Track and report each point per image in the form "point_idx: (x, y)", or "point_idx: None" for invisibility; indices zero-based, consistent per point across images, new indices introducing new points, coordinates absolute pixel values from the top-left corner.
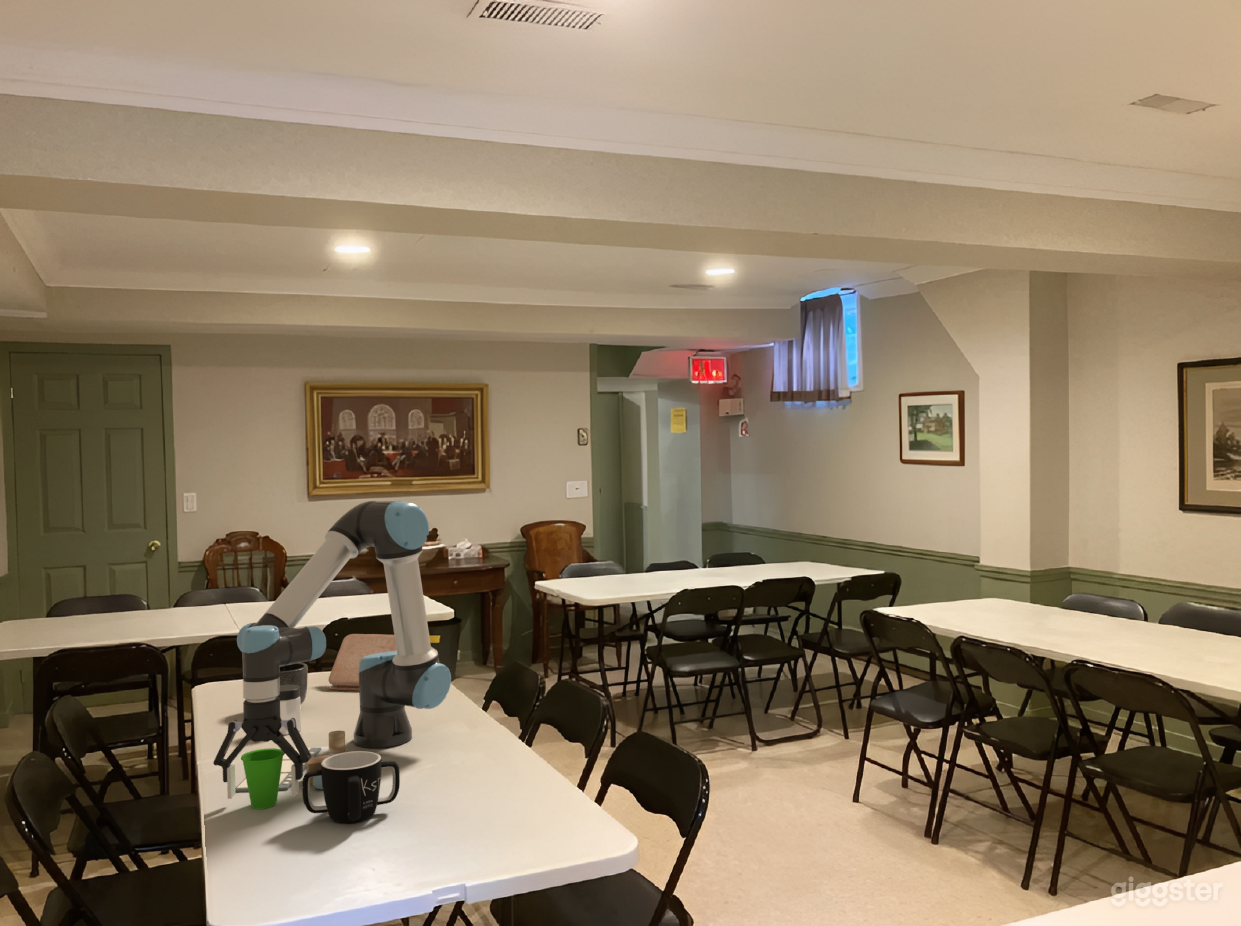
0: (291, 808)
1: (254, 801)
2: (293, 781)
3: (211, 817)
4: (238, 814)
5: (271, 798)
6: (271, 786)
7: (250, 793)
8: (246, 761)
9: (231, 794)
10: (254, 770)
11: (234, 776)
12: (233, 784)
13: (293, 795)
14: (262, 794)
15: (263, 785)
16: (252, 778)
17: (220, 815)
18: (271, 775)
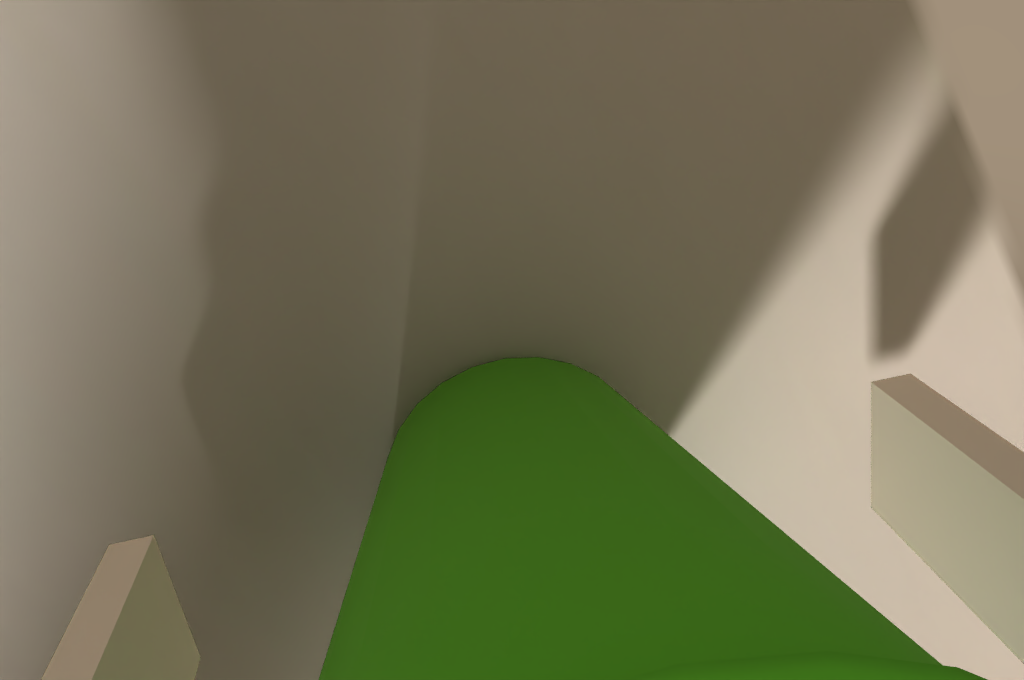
0: (138, 408)
1: (574, 377)
2: (63, 677)
3: (932, 65)
4: (666, 179)
5: (390, 456)
6: (374, 527)
7: (652, 422)
8: (948, 673)
9: (894, 412)
10: (653, 560)
11: (1013, 629)
12: (952, 531)
13: (127, 545)
14: (474, 415)
15: (463, 472)
16: (662, 490)
17: (855, 133)
18: (351, 625)
